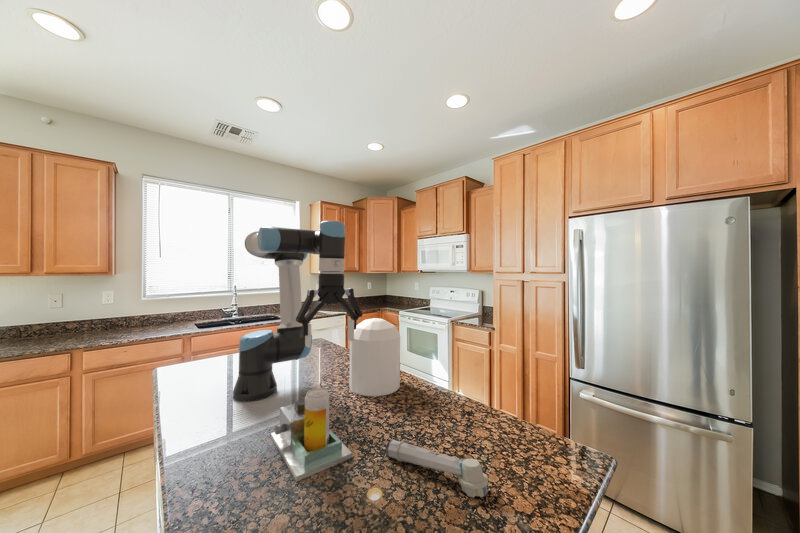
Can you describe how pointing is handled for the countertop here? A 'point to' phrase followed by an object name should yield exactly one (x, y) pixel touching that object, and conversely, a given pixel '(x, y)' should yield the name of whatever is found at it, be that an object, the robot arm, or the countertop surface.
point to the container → (375, 358)
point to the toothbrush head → (442, 465)
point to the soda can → (316, 419)
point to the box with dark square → (292, 444)
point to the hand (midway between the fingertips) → (330, 343)
